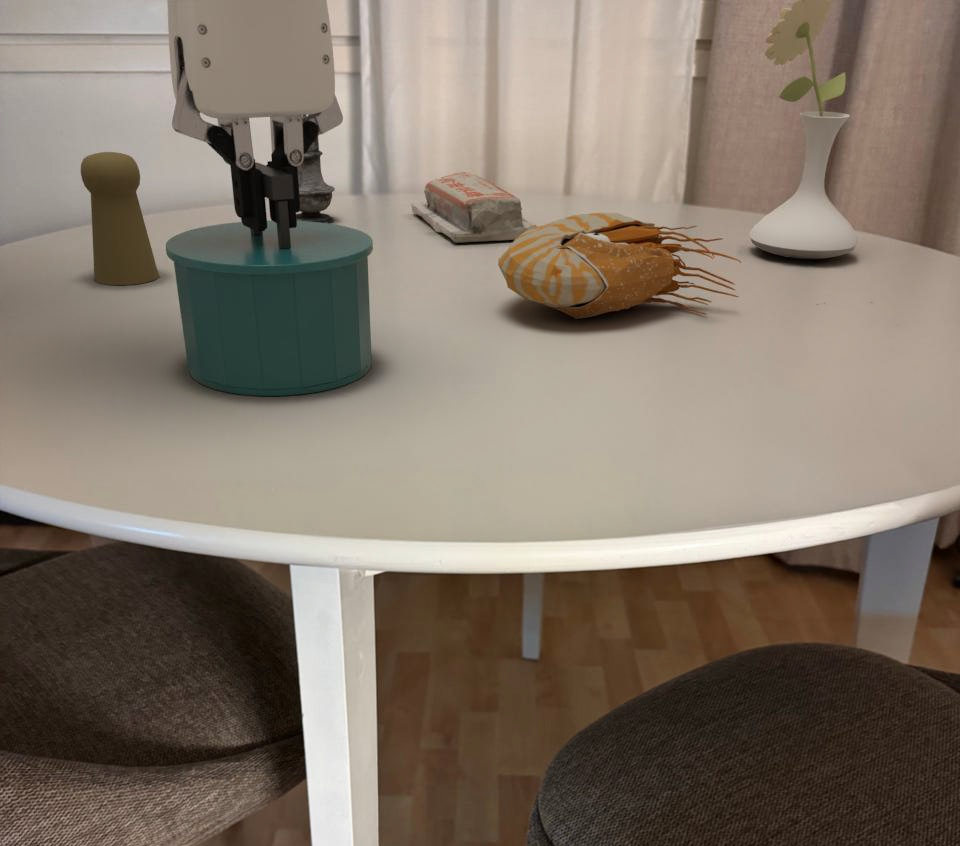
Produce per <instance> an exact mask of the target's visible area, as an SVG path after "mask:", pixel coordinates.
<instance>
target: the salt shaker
mask: <svg viewBox="0 0 960 846" xmlns="http://www.w3.org/2000/svg"><path fill="white" fill-rule="evenodd" d="M306 116H308V115H302V119H303V118H305V117H306ZM319 143H320V141H319V136H317V138H316V139H315V141H314V142H313V143H312V145H311V146H310V147H309V149H308V150H307V152H306V153H305V154H304V160H303V163H302V164H301V165H299V166H297V168H298V182H299V196H300V211H299V213H296V218H297V221H308V222H320V223H328V224H333V223H334V221H335V220H334V218H333V217H332V216H331V215H330V214H328V213H325V212H324V213H322V212H323V211H325V210H327V209H328V208H329V206H330V205H331V203H332V199H333V192H334V191H335V187H334V186H332V185H329V184H327V182H325V180H324V177H323V173H322V165H321V164H322V163H321V157H322V155H323V154H324V153H323V152H322V151H321V150H320V144H319Z"/></svg>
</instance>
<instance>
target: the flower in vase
mask: <svg viewBox="0 0 960 846" xmlns="http://www.w3.org/2000/svg"><path fill="white" fill-rule="evenodd" d="M832 6H833V3H832V0H794V2H793V3H792V5H791V8H790V7H785V8H783V9H782V10H781V12H780V14H779V19H780V20H778V22H777V23H776V24H774V25H773V26H772V28H771V31H770V33H769V34H768V35H767V37H766V38H765V43H766V44H770V45H769V47H767V49H765V51H764V56H766V58H767V59H768V60H769V61H772V60H774V62H773V65H775V66H778V65H781V66H783V65H785V64H786V63H788V62H792V61H794V60H795V59H796V58H797V56H798V55H799V56H802V55H803V54H804V53H806V52H807V50H808V53H809V57H810V64H811V75H812V79H810V78H809V77H808V76H800V77H798V78H796V79H793V80H792V81H790V82H789V83H788V84H787V85H786V86H784V88H783V89H782V90H781V92H780V94H779V96H778V98H779V99H781V100H784V101H786V102H790V103H795V102H797V101H800V100H801V99H802V98H803V97H804V96H805V95H806V94H808V92H809V91H811V89H812V87H813V89H814V93H815V98H816V102H817V107H818V110H817V111H816V110H812V111H811V110H810V111H801V112H798V116H799V118H800V120H801V122H802V125H803V128H804V134H805V157H804V167H803V173H802V176H801V180H800V183H799V186H798V188H797V190H796V191H795V193H794V194H793V195H792V196H790V197H789V199H787V200H786V201H784V202H783V203H782V204H781V205H779V206H778V207H776V208H775V209H773V210H772V211H770V212H769V213H768V214H766V215H765V216H764V217H762V218H761V219H760V220H759V221H758V222H757V223H756V224H755V225H754V226H752V229H751V230H750V233H749V235H748V237H749V240H750V242H751V244H753V245H754V246H755V247H757V248H759V249H760V250H762V251H764V252H766V253H770V254H773V255H776V256H781V257H785V258H794V259H803V260H804V259H805V260H806V259H807V260H816V259H817V260H818V259H819V260H820V259H828V258H835V257H836V258H837V257H840V256H843V255H845V254H849V253H850V252H852V251H854V249H856V247H857V246H858V244H859V241H858V234H857V232H856V231H855V230H854V228H853V226H852V224H850V222H849V221H848V220H847V219H846V218H845V216H843V214H842V213H841V212H840V211H839V210H838V209H837V208H836V206H834V204H833V203H832V202H831V200H830V199H829V197H828V196H827V193H826V189H825V178H826V172H827V167H828V162H829V158H830V153H831V150H832V147H833V144H834V142H835V139H836V138H837V137H836V136H837V134H838V133H839V131H840V129H841V128H842V127H843V125H844V124H845V123H846V122H847V120H848V119H849V118H850V116H851V115H850V114H848V113H845V112H844V113H843V112H838V111H837V112H836V111H824V109H823V104H822V102H825V101H828V100H832V99H834V98H838V97H840V96H842V95H843V94H844V92H845V90H846V82H847V81H846V77H847V76H846V72H845V71H844V72H842V73H840V74H838V75H837V76H835V77H833V78H831V79H829V80H827V81H825V82H822V83H821V84H819V85H818V81H817V73H816V72H817V71H816V61H815V54H814V50H813V45H812V44H813V43H814V42H815V41H816V39H817V37H818V36H820V34H821V33H822V32H823V31H824V26H823V25H824V24H825V23H826V21H827V20H828V18H829V16H830V15H829V13H830V11H831V8H832Z"/></svg>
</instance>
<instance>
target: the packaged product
mask: <svg viewBox="0 0 960 846" xmlns="http://www.w3.org/2000/svg"><path fill="white" fill-rule="evenodd" d="M423 192H424V197H425V200H426V202H424V201H422V202H419V204H416V203H413V202H411V209H412V213H413V214H415V215H417V216H419V217H420V218H422V219H423V220H424V221H425V222H427V224H429V225H430V226H431V227H432V228H433V230H434V232H435V233H442V234H443V235H445V236H446V237H448V238H450V239H451V240H452V241H453V242H454V243H457V244H464V243H481V242H497V241H499V242H501V241H514V240H515V239H516V238H518V237H519V236H520V235H521V234H523V233H524V232H526V231H527V230H529V229H531V228H534V227H537V224H533V223H532V222H531V221H529V220H526V219H525V218H524V217H523V213H522V210H523V208H522V202H521V199H520V198H518V197H516V196H515V195H514V194H512V193H510V192H508V191H507V190H504V189H503V188H501V187H499V186H497V185H496V184H493V183H491V182H490V181H488V180H486V179H485V178H484V179H483V178H482V177H480V176H479V175H476V174H473V173H471V172H465V171H461V172H455V173H452V174H449V175H443V176H441V177H439V178H435V179H433V180H431V181H429V182H427V183H426V184H425V187H424V190H423Z"/></svg>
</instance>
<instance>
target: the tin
mask: <svg viewBox="0 0 960 846" xmlns="http://www.w3.org/2000/svg"><path fill="white" fill-rule="evenodd" d="M368 258H369V256H367V257H366V258H364V259H362V260H360V261H357V262H355V263H352V264H349V265H345V266H341V267H336V268H331V269H326V270H319V271H312V272H303V273H291V274H262V275H256V274H231V273H220V272H212V271H205V270H199V269H194V268H190V267H186V266H183V265H181V264H178V263H176V262H174V261H173V267H174V274H175V283H176V289H177V297H178V304H179V312H180V318H181V325H182V326H181V327H182V334H183V341H184V347H185V356H186V363H187V368H188V369H189V374H190V376H191V378H193V380H195V381H196V382H197V383H199V384H200V385H202V386H205V387H207V388H210V389H213V390H216V391H220V392H224V393H230V394H234V395H235V394H237V395H242V396H243V395H245V396H257V397H283V396H284V397H285V396H298V395H299V396H300V395H306V394H312V393H313V394H314V393H320V392H324V391H329V390H333V389H337V388H340V387H343V386H346V385H348V384H352V383H353V382H355V381H357V380H358V379H361V378H362V377H363V376H365V375H366V374H367V373H368V372H369V370H370V368H371V365H372V364H371V362H372V357H373V356H372V334H371V332H372V330H371V310H370V309H371V308H370V307H371V305H370V284H369V259H368Z"/></svg>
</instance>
